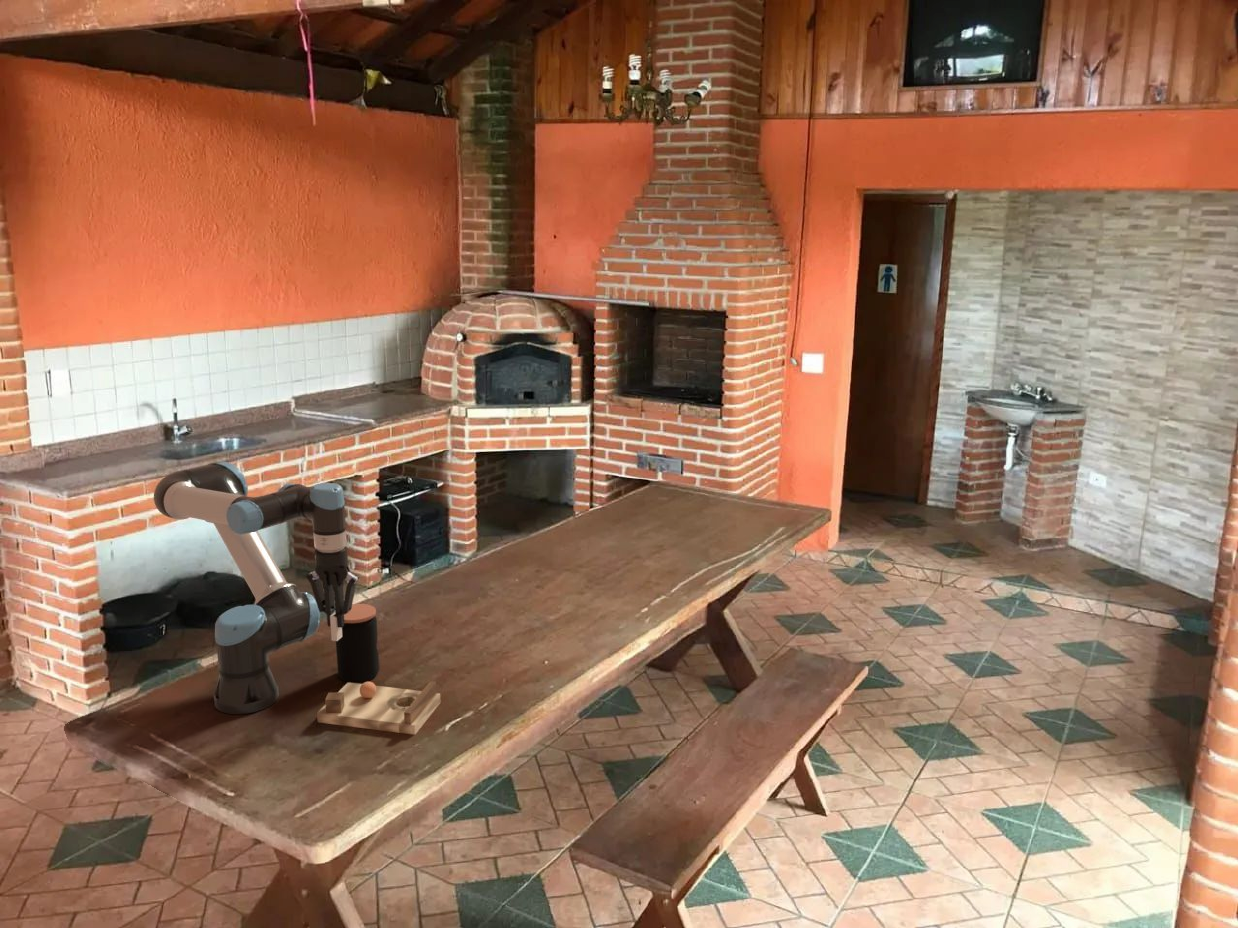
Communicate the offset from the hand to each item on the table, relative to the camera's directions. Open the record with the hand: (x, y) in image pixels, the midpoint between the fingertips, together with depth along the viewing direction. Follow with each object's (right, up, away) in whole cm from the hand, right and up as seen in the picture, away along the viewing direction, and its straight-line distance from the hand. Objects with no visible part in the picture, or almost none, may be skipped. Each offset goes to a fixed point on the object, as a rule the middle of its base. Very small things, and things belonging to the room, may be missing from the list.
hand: (337, 638), depth 248 cm
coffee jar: (0, -13, +19) cm, 23 cm away
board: (+11, -18, 0) cm, 21 cm away
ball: (+7, -13, +2) cm, 15 cm away
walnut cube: (+1, -17, -4) cm, 17 cm away
